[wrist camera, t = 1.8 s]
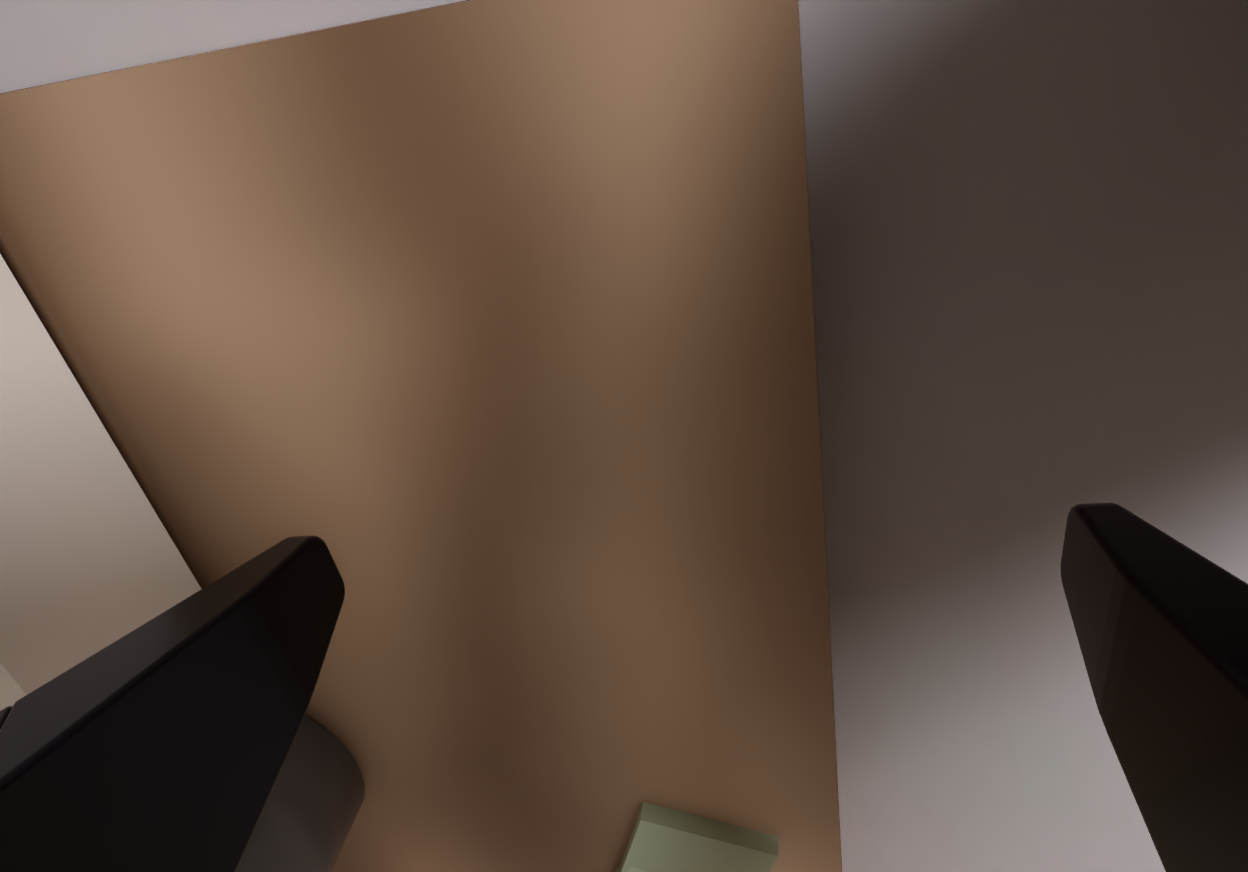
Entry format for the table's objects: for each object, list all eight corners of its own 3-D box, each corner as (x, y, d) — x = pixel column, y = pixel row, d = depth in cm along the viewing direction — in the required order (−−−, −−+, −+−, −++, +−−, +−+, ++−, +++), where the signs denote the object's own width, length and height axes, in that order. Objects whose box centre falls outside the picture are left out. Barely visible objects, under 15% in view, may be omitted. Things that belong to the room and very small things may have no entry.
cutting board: (791, -66, 9) (796, -64, 7) (847, 1002, 21) (852, 1073, 20) (-584, 210, 14) (-726, 239, 13) (118, 935, 27) (84, 988, 25)
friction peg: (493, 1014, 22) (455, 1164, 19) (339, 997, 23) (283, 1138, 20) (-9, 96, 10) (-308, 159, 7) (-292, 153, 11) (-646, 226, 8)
